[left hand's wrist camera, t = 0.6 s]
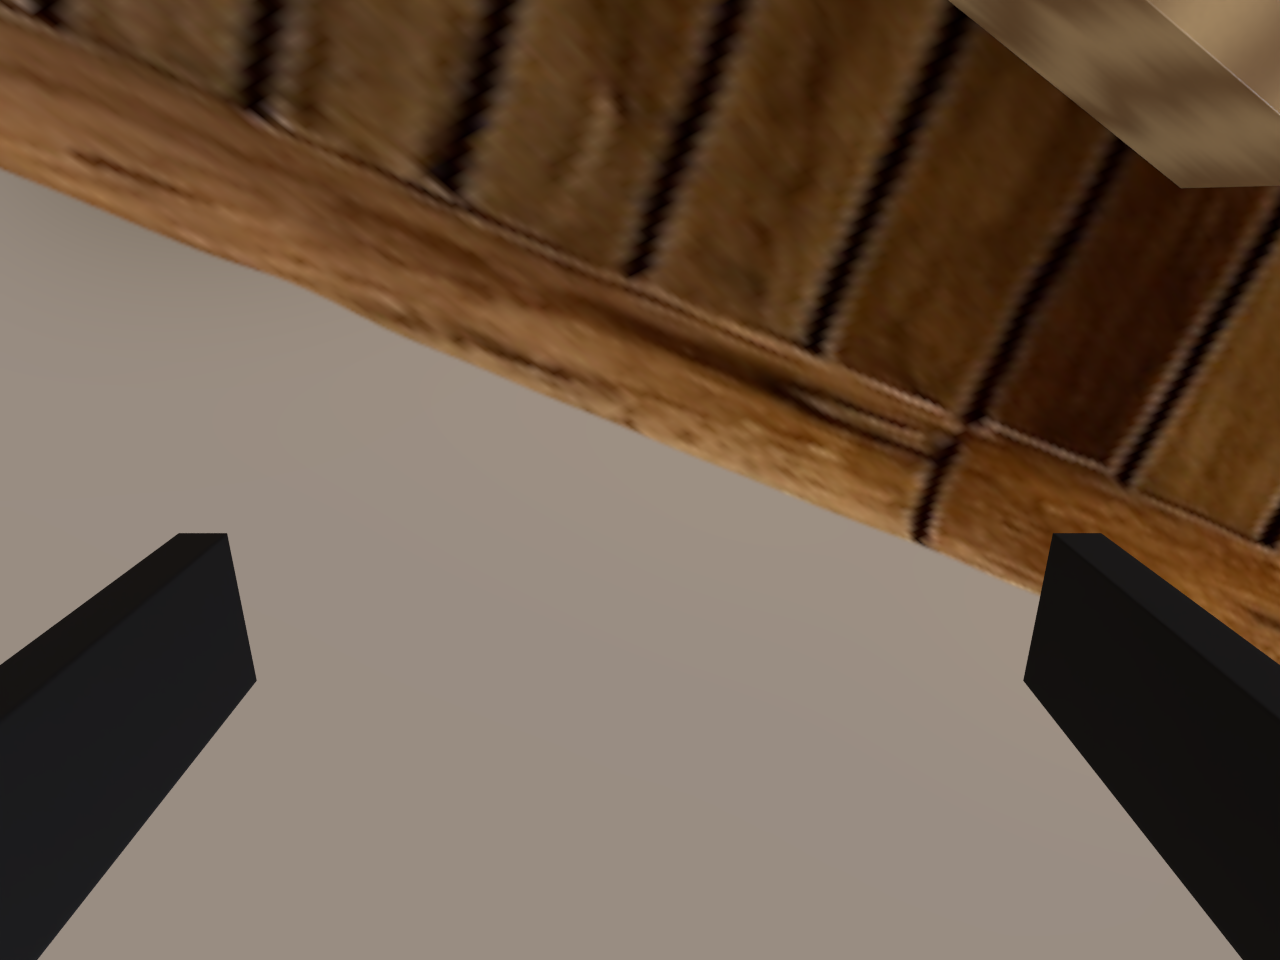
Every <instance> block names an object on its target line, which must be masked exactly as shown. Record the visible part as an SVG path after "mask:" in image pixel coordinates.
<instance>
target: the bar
mask: <svg viewBox="0 0 1280 960" xmlns="http://www.w3.org/2000/svg"><path fill="white" fill-rule="evenodd" d="M949 1H950V2H951V3H952V4H954V5H955V6H956V7H957V8H959V9H960V10H961V11H962V12H963V13H965V14H966V15H967V16H968V17H970V18H971V19H972V20H973V21H975V22H976V23H977V24H978V25H980V26H981V27H982V28H983V29H985V30H986V31H987V32H988V33H989V34H991V35H992V36H993V37H994V38H996V39H997V40H998V41H999V42H1001V43H1002V44H1003V45H1004V46H1006V47H1007V48H1008V49H1009V50H1011V51H1012V52H1013V53H1014V54H1015V55H1017V56H1018V57H1019V58H1020V59H1022V60H1023V61H1024V62H1025V63H1027V64H1028V65H1029V66H1030V67H1032V68H1033V69H1034V70H1035V71H1037V72H1038V73H1039V74H1040V75H1041V76H1043V77H1044V78H1045V79H1046V80H1048V81H1049V82H1050V83H1051V84H1053V85H1054V86H1055V87H1056V88H1058V89H1059V90H1060V91H1061V92H1063V93H1064V94H1065V95H1066V96H1067V97H1069V98H1070V99H1071V100H1072V101H1074V102H1075V103H1076V104H1077V105H1079V106H1080V107H1081V108H1082V109H1084V110H1085V111H1086V112H1087V113H1088V114H1090V115H1091V116H1092V117H1093V118H1095V119H1096V120H1097V121H1098V122H1100V123H1101V124H1102V125H1103V126H1105V127H1106V128H1107V129H1108V130H1110V131H1111V132H1112V133H1113V134H1114V135H1116V136H1117V137H1118V138H1119V139H1121V140H1122V141H1123V142H1124V143H1126V144H1127V145H1128V146H1129V147H1131V148H1132V149H1133V150H1134V151H1136V152H1137V153H1138V154H1139V155H1140V156H1142V157H1143V158H1144V159H1145V160H1147V161H1148V162H1149V163H1150V164H1152V165H1153V166H1154V167H1155V168H1157V169H1158V170H1159V171H1160V172H1162V173H1163V174H1164V175H1165V176H1166V177H1168V178H1169V179H1170V180H1171V181H1173V182H1174V183H1175V184H1176V185H1178V186H1179V187H1180V188H1205V187H1242V186H1279V185H1280V0H949Z"/></svg>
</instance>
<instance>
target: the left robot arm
mask: <svg viewBox="0 0 1280 960" xmlns="http://www.w3.org/2000/svg"><path fill="white" fill-rule="evenodd" d="M1023 681H1024V682H1025V683H1026V685H1027V686H1028V687H1029V688H1030V690H1031V691H1032V692H1033V693H1034V695H1035V696H1036V697H1037V699H1038V700H1039V701H1040V702H1041V704H1042V705H1043V706H1044V707H1045V709H1046V710H1047V711H1048V713H1049V714H1050V715H1051V716H1052V718H1053V719H1054V720H1055V721H1056V723H1057V724H1058V725H1059V727H1060V728H1061V729H1062V730H1063V732H1064V733H1065V734H1066V735H1067V737H1068V738H1069V739H1070V741H1071V742H1072V743H1073V744H1074V746H1075V747H1076V748H1077V749H1078V751H1079V752H1080V753H1081V755H1082V756H1083V757H1084V758H1085V760H1086V761H1087V762H1088V763H1089V765H1090V766H1091V767H1092V769H1093V770H1094V771H1095V772H1096V774H1097V775H1098V776H1099V777H1100V779H1101V780H1102V781H1103V783H1104V784H1105V785H1106V786H1107V788H1108V789H1109V790H1110V791H1111V793H1112V794H1113V795H1114V797H1115V798H1116V799H1117V800H1118V802H1119V803H1120V804H1121V805H1122V807H1123V808H1124V809H1125V811H1126V812H1127V813H1128V814H1129V816H1130V817H1131V818H1132V819H1133V821H1134V822H1135V823H1136V824H1137V826H1138V827H1139V828H1140V830H1141V831H1142V832H1143V833H1144V835H1145V836H1146V837H1147V838H1148V840H1149V841H1150V842H1151V844H1152V845H1153V846H1154V847H1155V849H1156V850H1157V851H1158V853H1159V854H1160V855H1161V856H1162V858H1163V859H1164V860H1165V861H1166V863H1167V864H1168V865H1169V866H1170V868H1171V869H1172V870H1173V872H1174V873H1175V874H1176V875H1177V877H1178V878H1179V879H1180V880H1181V882H1182V883H1183V884H1184V886H1185V887H1186V888H1187V889H1188V891H1189V892H1190V893H1191V894H1192V896H1193V897H1194V898H1195V900H1196V901H1197V902H1198V903H1199V905H1200V906H1201V907H1202V908H1203V910H1204V911H1205V912H1206V914H1207V915H1208V916H1209V917H1210V919H1211V920H1212V921H1213V922H1214V924H1215V925H1216V926H1217V928H1218V929H1219V930H1220V931H1221V933H1222V934H1223V935H1224V936H1225V938H1226V939H1227V940H1228V942H1229V943H1230V944H1231V945H1232V947H1233V948H1234V949H1235V950H1236V952H1237V953H1238V954H1239V956H1240V957H1241V958H1242V959H1243V960H1280V665H1279V664H1278V663H1276V662H1275V661H1273V660H1272V659H1271V658H1269V657H1268V656H1267V655H1265V654H1264V653H1263V652H1261V651H1260V650H1259V649H1257V648H1256V647H1254V646H1253V645H1252V644H1250V643H1249V642H1248V641H1246V640H1245V639H1244V638H1242V637H1241V636H1240V635H1238V634H1237V633H1236V632H1234V631H1233V630H1231V629H1230V628H1229V627H1227V626H1226V625H1225V624H1223V623H1222V622H1221V621H1219V620H1218V619H1217V618H1215V617H1214V616H1213V615H1211V614H1210V613H1208V612H1207V611H1206V610H1204V609H1203V608H1202V607H1200V606H1199V605H1198V604H1196V603H1195V602H1194V601H1192V600H1191V599H1189V598H1188V597H1187V596H1185V595H1184V594H1183V593H1181V592H1180V591H1179V590H1177V589H1176V588H1175V587H1173V586H1172V585H1171V584H1169V583H1168V582H1166V581H1165V580H1164V579H1162V578H1161V577H1160V576H1158V575H1157V574H1156V573H1154V572H1153V571H1152V570H1150V569H1149V568H1147V567H1146V566H1145V565H1143V564H1142V563H1141V562H1139V561H1138V560H1137V559H1135V558H1134V557H1133V556H1131V555H1130V554H1129V553H1127V552H1126V551H1124V550H1123V549H1122V548H1120V547H1119V546H1118V545H1116V544H1115V543H1114V542H1112V541H1111V540H1110V539H1108V538H1107V537H1105V536H1104V535H1103V534H1101V533H1053V536H1052V541H1051V546H1050V551H1049V556H1048V561H1047V566H1046V571H1045V576H1044V581H1043V586H1042V591H1041V596H1040V601H1039V606H1038V611H1037V615H1036V620H1035V625H1034V630H1033V635H1032V640H1031V645H1030V650H1029V655H1028V660H1027V665H1026V670H1025V675H1024V680H1023ZM255 682H256V675H255V670H254V665H253V660H252V655H251V650H250V645H249V640H248V635H247V630H246V625H245V620H244V615H243V610H242V605H241V600H240V596H239V591H238V586H237V581H236V576H235V571H234V566H233V561H232V556H231V551H230V546H229V541H228V536H227V533H179V534H177V535H176V536H175V537H173V538H172V539H170V540H169V541H168V542H166V543H165V544H164V545H162V546H161V547H160V548H158V549H157V550H156V551H154V552H153V553H152V554H150V555H149V556H148V557H146V558H145V559H143V560H142V561H141V562H139V563H138V564H137V565H135V566H134V567H133V568H131V569H130V570H128V571H127V572H126V573H124V574H123V575H122V576H120V577H119V578H118V579H116V580H115V581H114V582H112V583H111V584H109V585H108V586H107V587H105V588H104V589H103V590H101V591H100V592H99V593H97V594H96V595H95V596H93V597H92V598H91V599H89V600H88V601H86V602H85V603H84V604H82V605H81V606H80V607H78V608H77V609H76V610H74V611H73V612H72V613H70V614H69V615H68V616H66V617H65V618H63V619H62V620H61V621H59V622H58V623H57V624H55V625H54V626H53V627H51V628H50V629H49V630H47V631H46V632H45V633H43V634H42V635H40V636H39V637H38V638H36V639H35V640H34V641H32V642H31V643H30V644H28V645H27V646H26V647H24V648H23V649H21V650H20V651H19V652H17V653H16V654H15V655H13V656H12V657H11V658H9V659H8V660H7V661H5V662H4V663H3V664H1V665H0V960H37V959H38V958H39V957H40V956H41V954H42V953H43V952H44V950H45V949H46V948H47V947H48V945H49V944H50V943H51V942H52V940H53V939H54V938H55V936H56V935H57V934H58V933H59V931H60V930H61V929H62V928H63V926H64V925H65V924H66V922H67V921H68V920H69V919H70V917H71V916H72V915H73V914H74V912H75V911H76V910H77V908H78V907H79V906H80V905H81V903H82V902H83V901H84V900H85V898H86V897H87V896H88V894H89V893H90V892H91V891H92V889H93V888H94V887H95V886H96V884H97V883H98V882H99V880H100V879H101V878H102V877H103V875H104V874H105V873H106V872H107V870H108V869H109V868H110V866H111V865H112V864H113V863H114V861H115V860H116V859H117V858H118V856H119V855H120V854H121V852H122V851H123V850H124V849H125V847H126V846H127V845H128V844H129V842H130V841H131V840H132V839H133V837H134V836H135V835H136V833H137V832H138V831H139V830H140V828H141V827H142V826H143V825H144V823H145V822H146V821H147V819H148V818H149V817H150V816H151V814H152V813H153V812H154V810H155V809H156V808H157V807H158V805H159V804H160V803H161V802H162V800H163V799H164V798H165V796H166V795H167V794H168V793H169V791H170V790H171V789H172V788H173V786H174V785H175V784H176V783H177V781H178V780H179V779H180V777H181V776H182V775H183V774H184V772H185V771H186V770H187V769H188V767H189V766H190V765H191V763H192V762H193V761H194V760H195V758H196V757H197V756H198V754H199V753H200V752H201V751H202V749H203V748H204V747H205V746H206V744H207V743H208V742H209V741H210V739H211V738H212V737H213V735H214V734H215V733H216V732H217V730H218V729H219V728H220V727H221V725H222V724H223V723H224V721H225V720H226V719H227V718H228V716H229V715H230V714H231V713H232V711H233V710H234V709H235V707H236V706H237V705H238V704H239V702H240V701H241V700H242V699H243V697H244V696H245V695H246V693H247V692H248V691H249V690H250V688H251V687H252V686H253V685H254V683H255Z"/></svg>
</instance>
